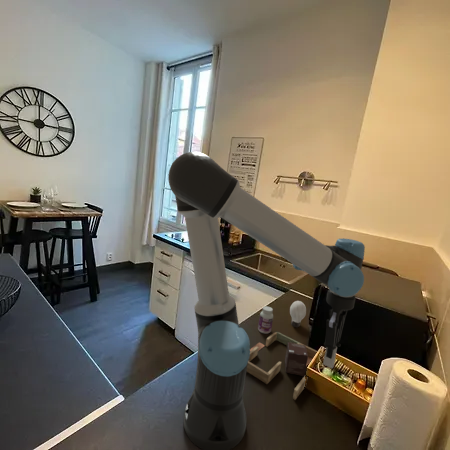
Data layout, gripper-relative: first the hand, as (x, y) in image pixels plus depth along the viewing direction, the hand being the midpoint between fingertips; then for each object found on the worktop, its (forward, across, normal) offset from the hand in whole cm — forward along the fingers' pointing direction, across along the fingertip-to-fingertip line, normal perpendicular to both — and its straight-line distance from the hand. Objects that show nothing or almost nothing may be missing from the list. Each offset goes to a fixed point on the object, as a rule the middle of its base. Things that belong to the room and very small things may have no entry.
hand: (328, 365), depth 80 cm
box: (+7, 0, +10) cm, 12 cm away
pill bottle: (+7, +12, +29) cm, 32 cm away
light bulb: (+7, +27, +22) cm, 35 cm away
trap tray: (+7, -1, +15) cm, 16 cm away
